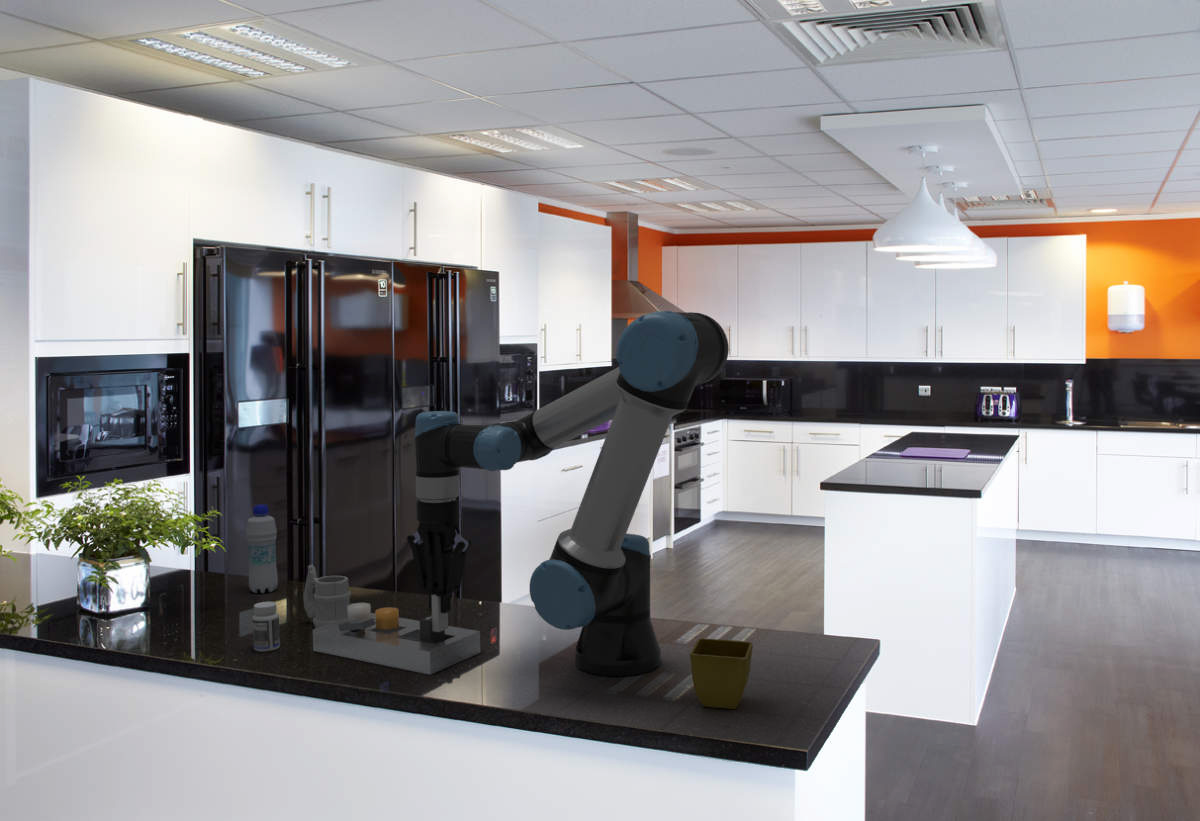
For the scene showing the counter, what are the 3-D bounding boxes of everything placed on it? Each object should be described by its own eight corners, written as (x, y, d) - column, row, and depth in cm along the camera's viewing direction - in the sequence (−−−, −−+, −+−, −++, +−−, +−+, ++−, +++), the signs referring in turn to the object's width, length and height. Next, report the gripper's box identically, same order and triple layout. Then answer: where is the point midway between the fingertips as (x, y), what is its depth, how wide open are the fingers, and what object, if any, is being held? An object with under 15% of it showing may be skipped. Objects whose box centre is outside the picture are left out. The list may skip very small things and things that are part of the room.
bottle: (285, 589, 240) (282, 503, 239) (261, 596, 234) (258, 507, 233) (265, 586, 244) (262, 501, 242) (241, 592, 238) (238, 505, 237)
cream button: (375, 620, 197) (375, 604, 197) (359, 625, 194) (359, 609, 193) (359, 617, 199) (358, 601, 199) (343, 622, 196) (342, 606, 196)
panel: (480, 652, 191) (479, 628, 191) (430, 674, 179) (429, 648, 179) (366, 631, 205) (365, 608, 205) (313, 650, 193) (312, 626, 193)
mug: (332, 635, 203) (330, 574, 202) (290, 626, 210) (288, 567, 209) (361, 625, 210) (359, 567, 209) (319, 617, 216) (318, 560, 215)
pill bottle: (273, 642, 199) (272, 599, 198) (284, 648, 195) (282, 604, 195) (249, 648, 196) (247, 604, 195) (259, 653, 192) (258, 608, 192)
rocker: (375, 624, 190) (373, 618, 190) (363, 628, 187) (362, 622, 187) (351, 627, 193) (350, 620, 193) (339, 631, 191) (338, 624, 191)
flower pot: (753, 696, 167) (753, 641, 166) (747, 715, 158) (746, 657, 158) (698, 692, 169) (698, 637, 168) (689, 711, 161) (689, 654, 160)
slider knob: (445, 644, 189) (444, 614, 188) (429, 650, 185) (429, 620, 185) (435, 642, 190) (434, 613, 190) (420, 648, 186) (419, 618, 186)
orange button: (403, 625, 194) (403, 609, 193) (388, 630, 190) (387, 614, 190) (386, 622, 196) (386, 606, 196) (371, 627, 192) (370, 611, 192)
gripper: (480, 498, 184) (482, 629, 186) (423, 493, 191) (425, 619, 193) (453, 505, 178) (455, 640, 180) (395, 498, 185) (398, 629, 187)
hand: (440, 629), depth 186 cm, fingers closed
